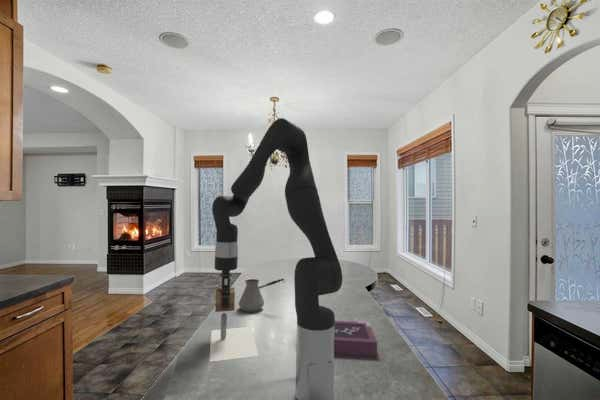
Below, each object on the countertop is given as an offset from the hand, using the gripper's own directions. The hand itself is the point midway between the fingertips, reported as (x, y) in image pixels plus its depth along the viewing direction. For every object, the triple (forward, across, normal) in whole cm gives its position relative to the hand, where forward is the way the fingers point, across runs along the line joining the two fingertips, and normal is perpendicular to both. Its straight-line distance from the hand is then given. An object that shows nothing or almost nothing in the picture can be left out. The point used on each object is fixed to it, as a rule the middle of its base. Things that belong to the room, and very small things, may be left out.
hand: (224, 304), depth 95 cm
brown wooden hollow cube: (+1, 0, 0) cm, 1 cm away
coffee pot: (+13, +29, -17) cm, 36 cm away
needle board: (+13, -3, -3) cm, 13 cm away
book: (+13, -8, -37) cm, 40 cm away
